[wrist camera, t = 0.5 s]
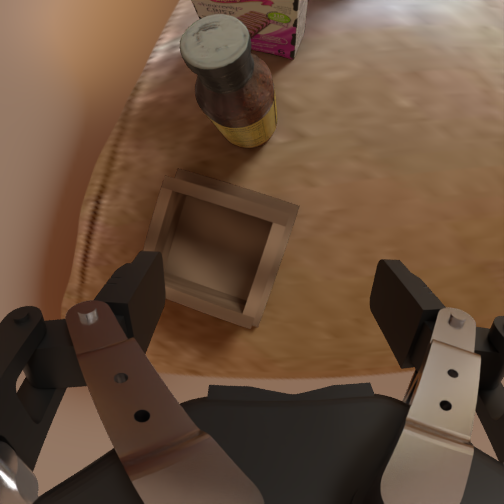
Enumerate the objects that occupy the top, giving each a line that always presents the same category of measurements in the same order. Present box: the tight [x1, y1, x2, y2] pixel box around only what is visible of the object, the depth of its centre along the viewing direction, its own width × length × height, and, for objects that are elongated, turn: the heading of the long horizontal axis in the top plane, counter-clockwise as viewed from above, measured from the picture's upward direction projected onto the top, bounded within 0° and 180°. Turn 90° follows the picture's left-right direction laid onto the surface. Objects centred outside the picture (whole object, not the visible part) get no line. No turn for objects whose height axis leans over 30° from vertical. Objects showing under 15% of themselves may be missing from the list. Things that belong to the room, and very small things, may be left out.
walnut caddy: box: [143, 168, 300, 329], centre depth 33 cm, size 14×14×6 cm
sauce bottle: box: [180, 14, 277, 148], centre depth 25 cm, size 6×6×20 cm
